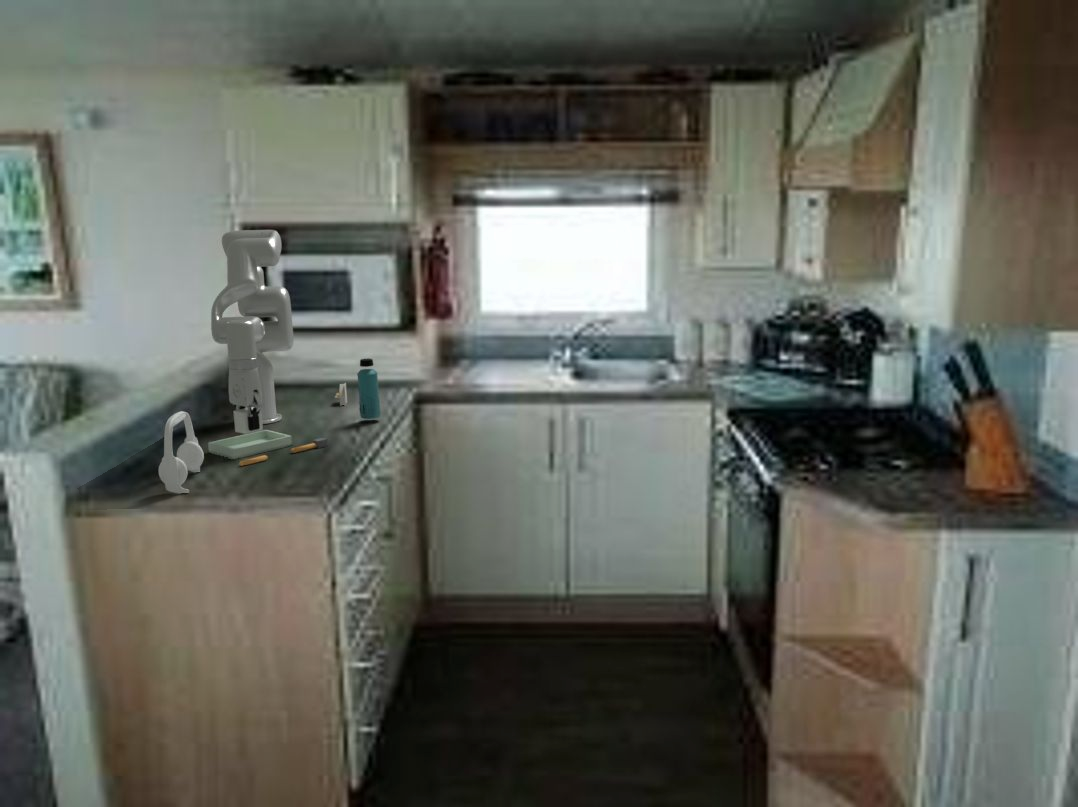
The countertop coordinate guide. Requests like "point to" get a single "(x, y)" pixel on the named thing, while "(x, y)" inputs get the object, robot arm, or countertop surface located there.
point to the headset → (179, 455)
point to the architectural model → (342, 394)
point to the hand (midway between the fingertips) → (249, 427)
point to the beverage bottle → (368, 391)
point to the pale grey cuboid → (244, 421)
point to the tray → (250, 444)
